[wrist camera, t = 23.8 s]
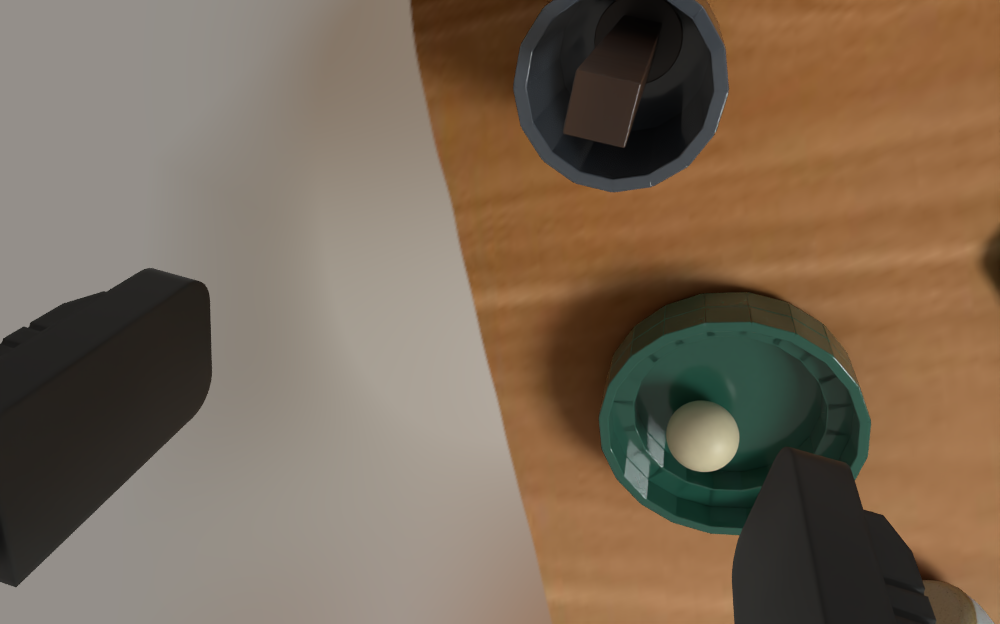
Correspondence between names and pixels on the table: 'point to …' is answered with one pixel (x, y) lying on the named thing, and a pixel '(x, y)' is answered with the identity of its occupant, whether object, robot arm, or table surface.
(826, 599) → the robot arm
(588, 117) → the dark brown wooden bar
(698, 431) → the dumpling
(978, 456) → the table surface
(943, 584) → the ceramic mug
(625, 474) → the bowl
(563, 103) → the crock
